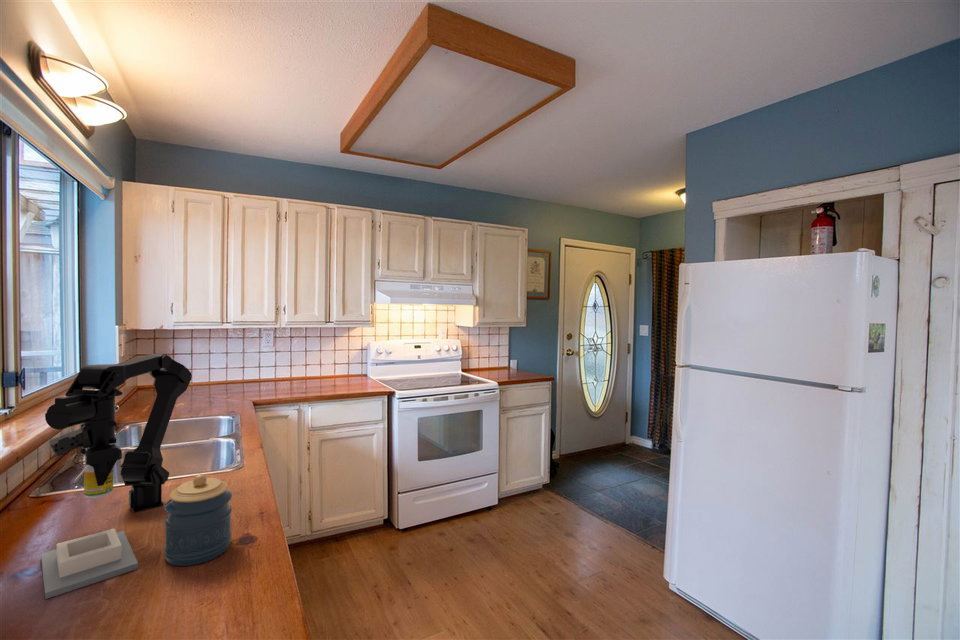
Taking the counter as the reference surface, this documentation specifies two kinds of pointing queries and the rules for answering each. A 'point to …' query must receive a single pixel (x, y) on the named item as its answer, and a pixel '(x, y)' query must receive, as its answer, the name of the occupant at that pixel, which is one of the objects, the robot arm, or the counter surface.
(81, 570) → the socket board
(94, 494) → the supplement bottle
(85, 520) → the counter surface
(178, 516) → the canister
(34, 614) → the counter surface
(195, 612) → the counter surface
